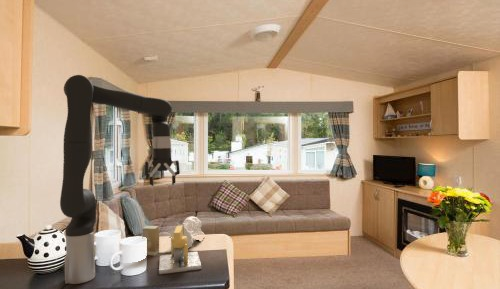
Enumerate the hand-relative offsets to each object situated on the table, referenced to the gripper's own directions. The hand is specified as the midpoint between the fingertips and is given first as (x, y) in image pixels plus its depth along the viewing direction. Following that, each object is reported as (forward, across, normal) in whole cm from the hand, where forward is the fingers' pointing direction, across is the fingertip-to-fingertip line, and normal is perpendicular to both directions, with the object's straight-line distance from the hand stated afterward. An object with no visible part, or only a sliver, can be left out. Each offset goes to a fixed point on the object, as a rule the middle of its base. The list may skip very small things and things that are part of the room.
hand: (162, 185), depth 133 cm
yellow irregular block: (+24, +6, -7) cm, 26 cm away
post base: (+32, +6, -7) cm, 33 cm away
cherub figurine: (+32, +11, +19) cm, 39 cm away
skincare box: (+32, -6, +9) cm, 34 cm away
